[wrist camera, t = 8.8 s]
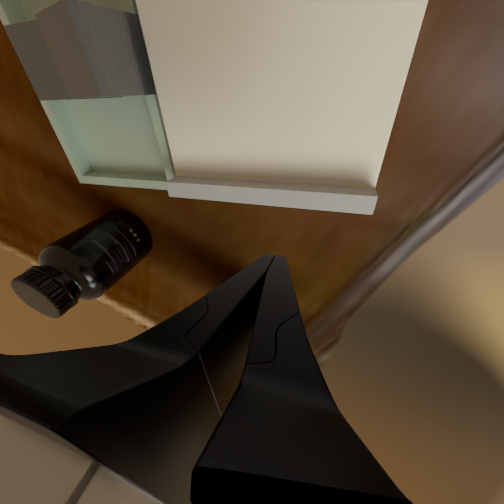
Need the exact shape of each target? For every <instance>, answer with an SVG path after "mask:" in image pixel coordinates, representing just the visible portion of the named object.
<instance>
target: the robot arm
mask: <svg viewBox="0 0 504 504" xmlns="http://www.w3.org/2000/svg"><path fill="white" fill-rule="evenodd" d="M0 504H412V502H411V501H410V500H409V499H407V497H405V495H404V494H403V493H402V492H401V491H400V490H399V488H398V487H397V486H396V485H395V484H394V482H393V481H392V480H391V478H390V477H389V476H388V474H387V473H386V472H385V470H384V469H383V468H382V466H381V465H380V464H379V463H378V461H377V460H376V459H375V457H374V456H373V455H372V453H371V452H370V451H369V449H368V448H367V447H366V446H365V444H364V443H363V442H362V440H361V439H360V438H359V436H358V435H357V434H356V432H355V431H354V430H353V428H352V427H351V426H350V425H349V423H348V422H347V421H346V419H345V418H344V417H343V415H342V414H341V412H340V410H339V409H338V407H337V405H336V403H335V401H334V399H333V397H332V395H331V393H330V391H329V389H328V386H327V384H326V381H325V379H324V377H323V374H322V372H321V370H320V367H319V365H318V363H317V360H316V358H315V356H314V353H313V351H312V349H311V346H310V343H309V341H308V338H307V335H306V332H305V329H304V325H303V322H302V318H301V315H300V311H299V307H298V303H297V299H296V295H295V291H294V287H293V283H292V279H291V275H290V271H289V267H288V264H287V260H286V257H285V256H278V255H276V256H275V255H270V254H264V255H263V256H261V257H260V258H259V259H257V260H256V261H254V262H253V263H251V264H250V265H248V266H247V267H245V268H244V269H243V270H241V271H240V272H238V273H237V274H235V275H234V276H232V277H231V278H229V279H228V280H226V281H225V282H224V283H222V284H221V285H219V286H218V287H216V288H215V289H213V290H212V291H210V292H209V293H208V294H206V296H203V297H202V298H200V299H199V300H197V301H196V302H194V303H193V304H191V305H190V306H188V307H186V308H185V309H183V310H182V311H180V312H178V313H176V314H175V315H173V316H171V317H170V318H168V319H166V320H164V321H163V322H161V323H159V324H157V325H155V326H154V327H152V328H150V329H148V330H147V331H145V332H143V333H141V334H139V335H138V336H136V337H134V338H132V339H130V340H127V341H125V342H122V343H118V344H114V345H108V346H100V347H91V348H83V349H74V350H66V351H57V352H49V353H41V354H31V355H4V354H0Z"/></svg>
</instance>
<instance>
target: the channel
mask: <svg viewBox="0 0 504 504" xmlns="http://www.w3.org/2000/svg"><path fill="white" fill-rule="evenodd" d="M135 1H136V5H137V9H138V14H139V18H140V22H141V27H142V31H143V35H144V40H145V44H146V48H147V52H148V57H149V61H150V65H151V70H152V74H153V78H154V83H155V87H156V91H157V96H158V100H159V104H160V108H161V113H162V117H163V121H164V126H165V130H166V134H167V139H168V143H169V147H170V152H171V156H172V160H173V164H174V169H175V173H176V176H175V177H173V178H172V179H170V180H168V181H166V186H167V190H168V194H169V197H179V198H190V199H202V200H213V201H224V202H235V203H246V204H257V205H268V206H280V207H291V208H302V209H313V210H324V211H335V212H346V213H358V214H369V215H373V212H374V209H375V205H376V202H377V199H378V195H377V192H376V189H375V186H376V183H377V179H378V176H379V172H380V169H381V165H382V162H383V158H384V155H385V151H386V148H387V144H388V141H389V137H390V133H391V130H392V126H393V123H394V119H395V116H396V112H397V109H398V105H399V102H400V98H401V95H402V91H403V88H404V84H405V81H406V77H407V74H408V70H409V66H410V63H411V59H412V56H413V52H414V49H415V45H416V42H417V38H418V35H419V31H420V28H421V24H422V21H423V17H424V14H425V10H426V7H427V3H428V0H135Z"/></svg>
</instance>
